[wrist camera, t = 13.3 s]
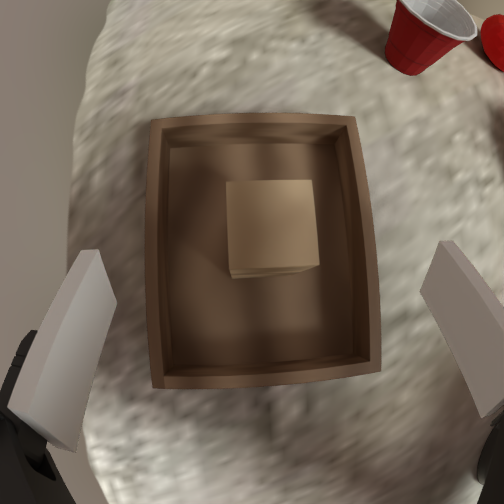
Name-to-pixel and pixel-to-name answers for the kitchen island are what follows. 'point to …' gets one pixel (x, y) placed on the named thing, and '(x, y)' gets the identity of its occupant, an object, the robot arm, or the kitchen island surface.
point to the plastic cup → (426, 33)
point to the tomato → (494, 39)
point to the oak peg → (271, 228)
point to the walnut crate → (264, 288)
